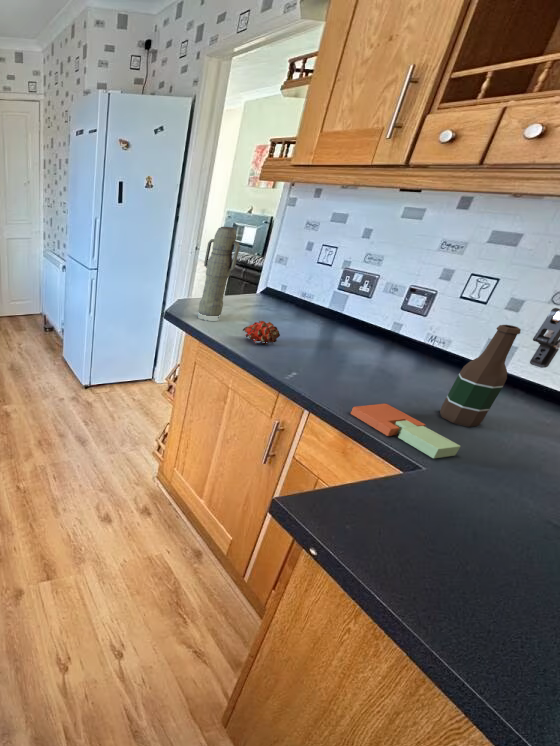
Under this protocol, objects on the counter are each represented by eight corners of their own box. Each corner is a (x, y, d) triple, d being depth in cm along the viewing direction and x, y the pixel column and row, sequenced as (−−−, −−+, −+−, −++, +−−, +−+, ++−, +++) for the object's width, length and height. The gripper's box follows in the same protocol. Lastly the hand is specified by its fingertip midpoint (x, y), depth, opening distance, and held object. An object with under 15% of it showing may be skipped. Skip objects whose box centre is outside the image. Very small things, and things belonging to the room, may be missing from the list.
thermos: (219, 323, 163) (240, 230, 147) (190, 317, 169) (207, 226, 153) (226, 318, 169) (247, 228, 153) (198, 312, 175) (215, 225, 159)
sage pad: (407, 428, 97) (411, 419, 96) (455, 455, 88) (461, 446, 87) (386, 431, 96) (391, 421, 95) (433, 458, 87) (438, 449, 86)
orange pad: (382, 410, 105) (386, 403, 104) (422, 431, 96) (426, 424, 95) (350, 413, 103) (353, 406, 102) (387, 436, 94) (391, 428, 93)
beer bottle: (483, 421, 101) (539, 328, 90) (474, 431, 97) (531, 335, 86) (443, 408, 106) (491, 318, 95) (433, 416, 102) (481, 324, 92)
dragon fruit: (277, 352, 142) (240, 348, 149) (284, 333, 145) (247, 330, 152) (276, 337, 136) (238, 333, 143) (283, 317, 138) (245, 314, 146)
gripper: (615, 280, 62) (552, 376, 70) (678, 278, 65) (611, 370, 73) (552, 269, 69) (500, 358, 76) (611, 268, 72) (556, 354, 79)
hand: (554, 364), depth 74 cm, fingers open, 8 cm apart
